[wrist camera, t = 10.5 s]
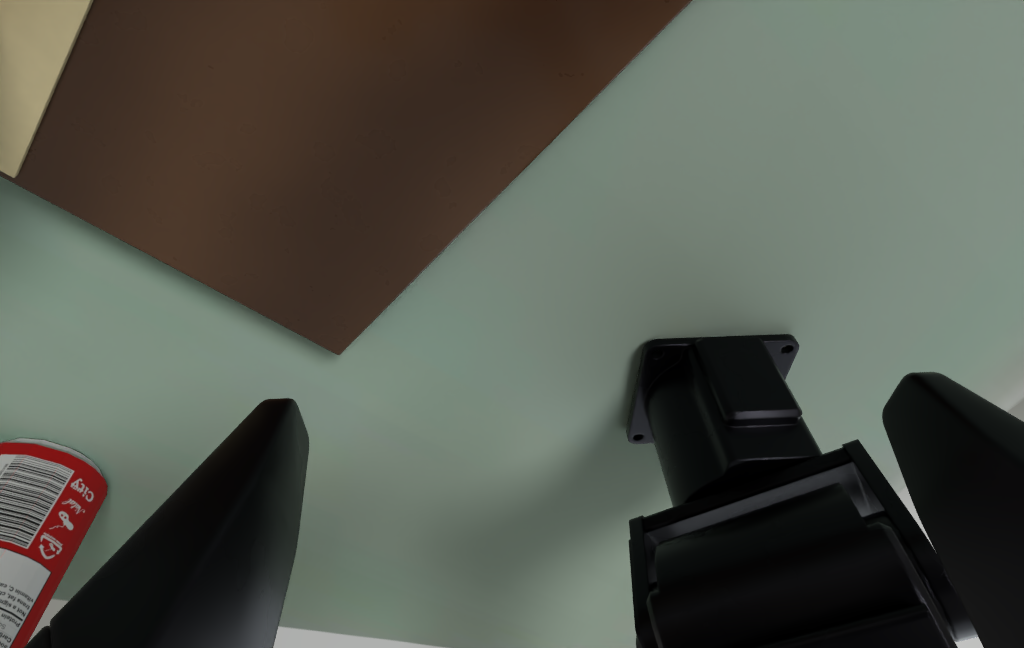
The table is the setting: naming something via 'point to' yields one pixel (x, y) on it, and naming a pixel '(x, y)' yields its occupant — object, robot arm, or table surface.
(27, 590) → the soda can
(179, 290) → the table surface
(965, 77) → the table surface
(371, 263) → the board
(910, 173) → the table surface
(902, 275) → the table surface
